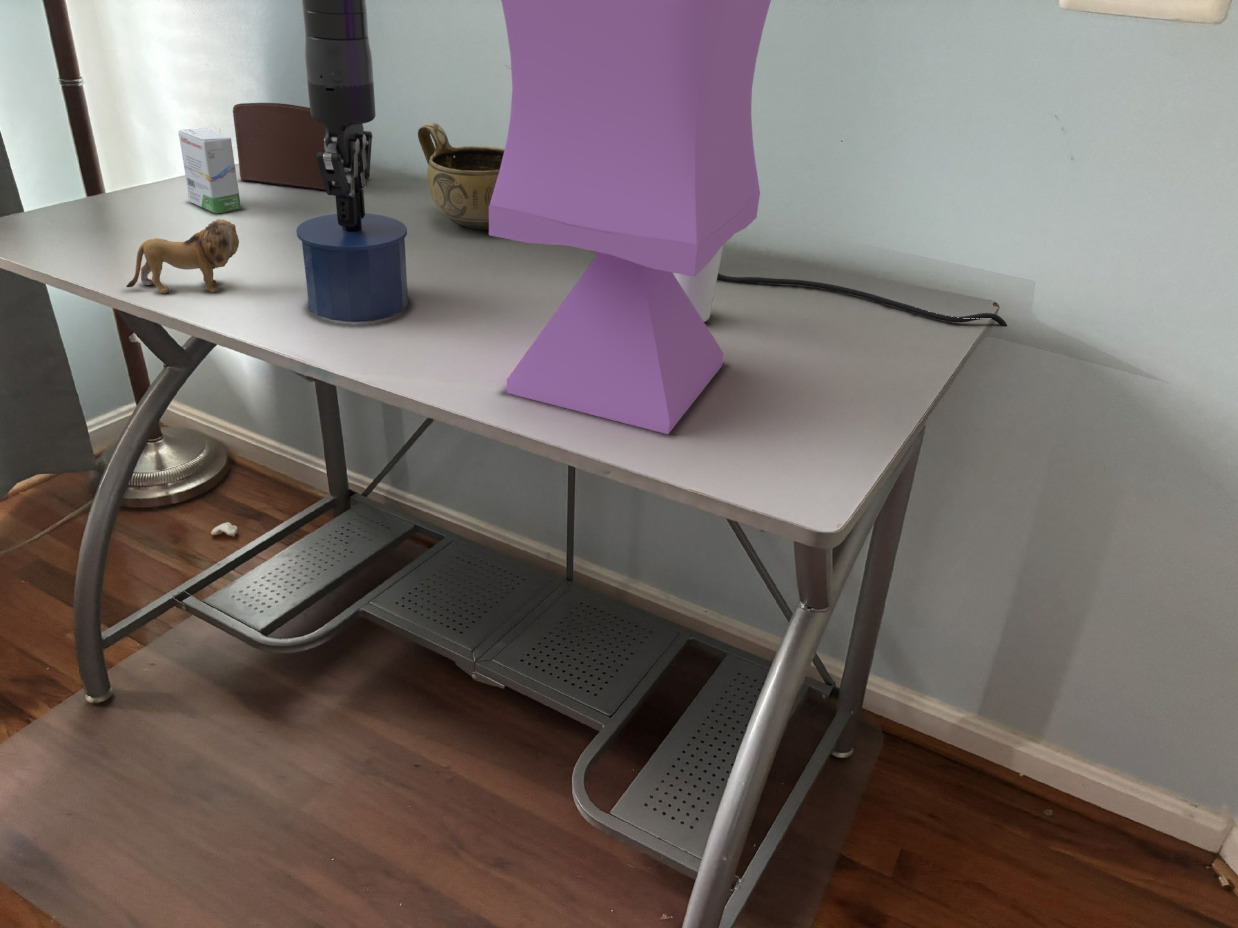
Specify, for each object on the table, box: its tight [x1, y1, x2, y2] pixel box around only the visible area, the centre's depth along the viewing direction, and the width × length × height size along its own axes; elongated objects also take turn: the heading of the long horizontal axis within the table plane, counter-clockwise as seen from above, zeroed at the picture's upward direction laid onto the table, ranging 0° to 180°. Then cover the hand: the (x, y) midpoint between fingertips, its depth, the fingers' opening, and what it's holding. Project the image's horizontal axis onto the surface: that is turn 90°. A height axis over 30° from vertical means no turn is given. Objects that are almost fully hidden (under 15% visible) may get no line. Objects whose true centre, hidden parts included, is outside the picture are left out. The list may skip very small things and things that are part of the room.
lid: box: [295, 189, 408, 251], centre depth 121 cm, size 14×14×6 cm
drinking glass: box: [672, 244, 725, 323], centre depth 128 cm, size 7×7×15 cm
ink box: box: [177, 127, 242, 215], centre depth 157 cm, size 8×5×12 cm, turn 48°
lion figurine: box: [125, 218, 240, 294], centre depth 127 cm, size 15×5×9 cm, turn 110°
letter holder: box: [232, 102, 360, 192], centre depth 172 cm, size 10×20×14 cm, turn 80°
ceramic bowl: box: [417, 122, 505, 230], centre depth 157 cm, size 22×17×15 cm
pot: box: [301, 237, 409, 323], centre depth 125 cm, size 13×13×10 cm
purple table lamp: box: [488, 0, 772, 435], centre depth 102 cm, size 22×22×45 cm
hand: (351, 221), depth 122 cm, fingers closed
